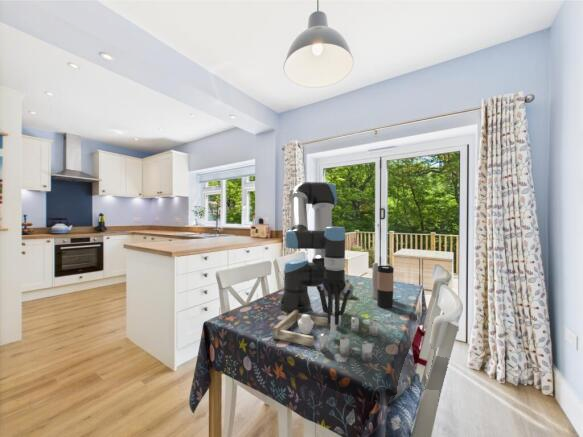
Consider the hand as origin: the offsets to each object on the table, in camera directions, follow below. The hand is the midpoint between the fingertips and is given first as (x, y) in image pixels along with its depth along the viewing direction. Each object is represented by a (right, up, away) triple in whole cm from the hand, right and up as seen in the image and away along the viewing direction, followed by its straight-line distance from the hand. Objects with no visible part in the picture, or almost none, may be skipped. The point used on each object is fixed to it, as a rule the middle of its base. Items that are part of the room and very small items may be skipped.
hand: (333, 332), depth 94 cm
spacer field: (+6, -2, -2) cm, 6 cm away
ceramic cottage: (+11, -2, +53) cm, 54 cm away
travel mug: (+32, -3, +35) cm, 48 cm away
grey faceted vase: (-10, -2, +4) cm, 11 cm away
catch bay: (-11, -2, +5) cm, 12 cm away
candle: (+37, -3, +48) cm, 61 cm away
